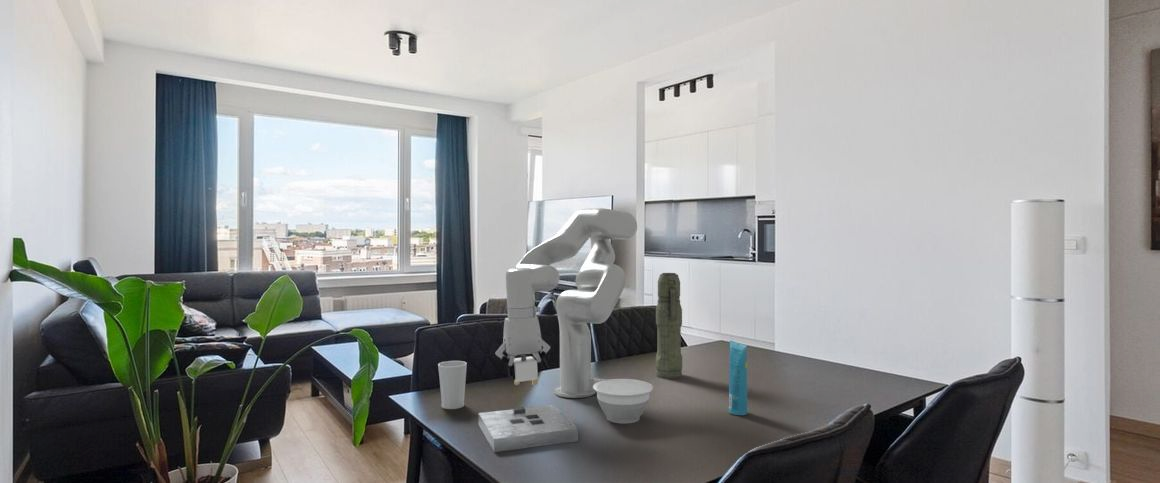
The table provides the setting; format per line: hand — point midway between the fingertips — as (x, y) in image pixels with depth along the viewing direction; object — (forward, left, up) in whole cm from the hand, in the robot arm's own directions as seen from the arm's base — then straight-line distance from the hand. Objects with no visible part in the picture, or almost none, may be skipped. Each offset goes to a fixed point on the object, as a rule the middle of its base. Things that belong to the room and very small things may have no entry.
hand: (524, 376), depth 164 cm
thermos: (-56, -20, -10) cm, 60 cm away
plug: (0, 0, -2) cm, 2 cm away
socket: (+4, +18, -9) cm, 20 cm away
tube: (-54, +23, -10) cm, 59 cm away
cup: (+18, -11, -10) cm, 23 cm away
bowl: (-23, +16, -10) cm, 29 cm away
